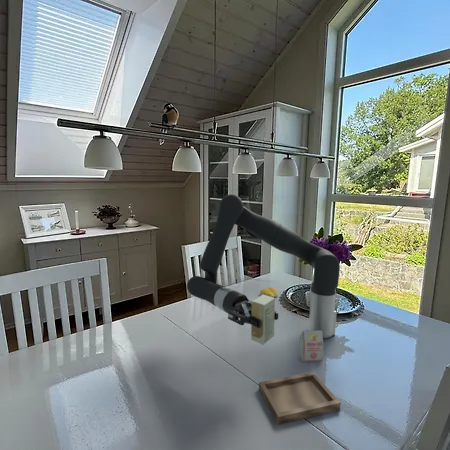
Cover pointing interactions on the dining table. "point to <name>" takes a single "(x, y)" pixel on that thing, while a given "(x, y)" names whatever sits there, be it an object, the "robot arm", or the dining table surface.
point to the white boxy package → (311, 346)
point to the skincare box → (263, 318)
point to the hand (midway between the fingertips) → (269, 320)
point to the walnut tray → (298, 397)
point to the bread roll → (269, 292)
